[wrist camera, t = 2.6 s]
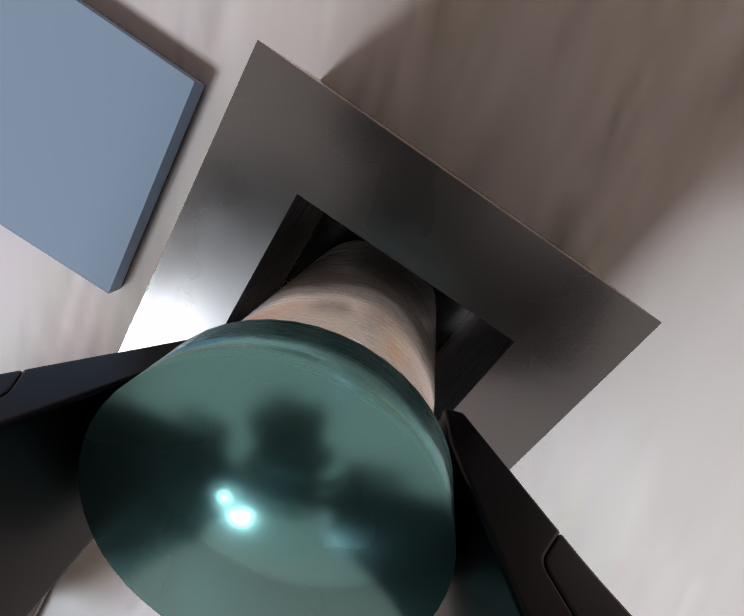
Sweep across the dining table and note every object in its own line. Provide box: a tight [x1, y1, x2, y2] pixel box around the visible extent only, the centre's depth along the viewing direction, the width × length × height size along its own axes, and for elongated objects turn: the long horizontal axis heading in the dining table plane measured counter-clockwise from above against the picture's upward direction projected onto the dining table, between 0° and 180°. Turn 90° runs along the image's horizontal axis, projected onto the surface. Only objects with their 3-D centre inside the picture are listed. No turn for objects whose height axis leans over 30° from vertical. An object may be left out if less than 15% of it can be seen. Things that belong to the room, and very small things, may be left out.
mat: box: [0, 0, 205, 293], centre depth 14 cm, size 8×8×1 cm
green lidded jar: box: [78, 240, 456, 616], centre depth 10 cm, size 5×5×9 cm
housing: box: [119, 40, 661, 470], centre depth 12 cm, size 10×10×4 cm
